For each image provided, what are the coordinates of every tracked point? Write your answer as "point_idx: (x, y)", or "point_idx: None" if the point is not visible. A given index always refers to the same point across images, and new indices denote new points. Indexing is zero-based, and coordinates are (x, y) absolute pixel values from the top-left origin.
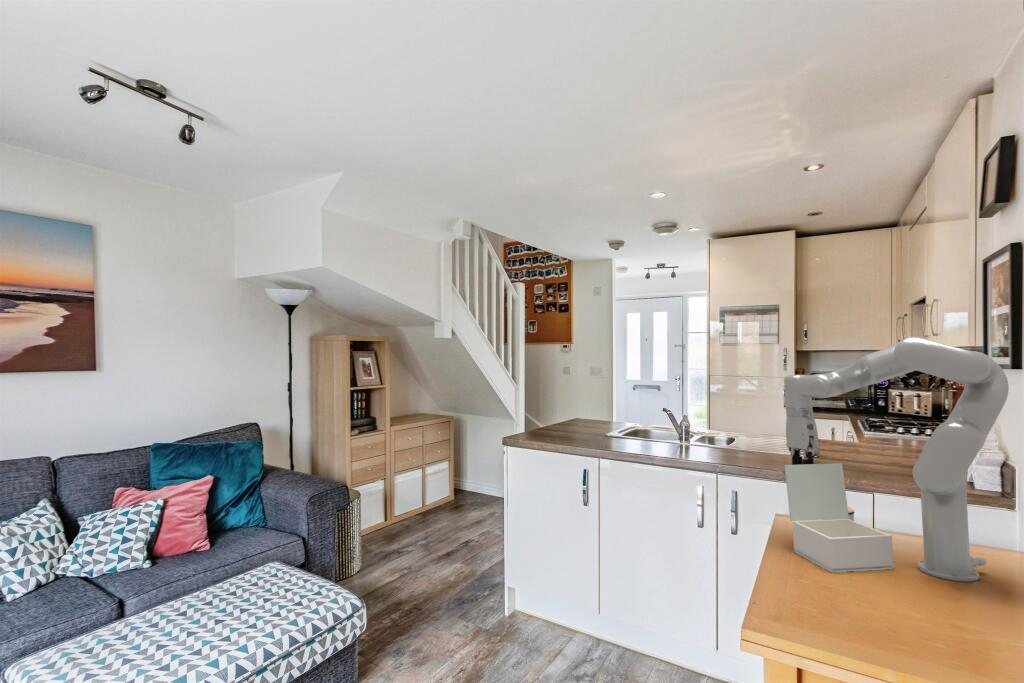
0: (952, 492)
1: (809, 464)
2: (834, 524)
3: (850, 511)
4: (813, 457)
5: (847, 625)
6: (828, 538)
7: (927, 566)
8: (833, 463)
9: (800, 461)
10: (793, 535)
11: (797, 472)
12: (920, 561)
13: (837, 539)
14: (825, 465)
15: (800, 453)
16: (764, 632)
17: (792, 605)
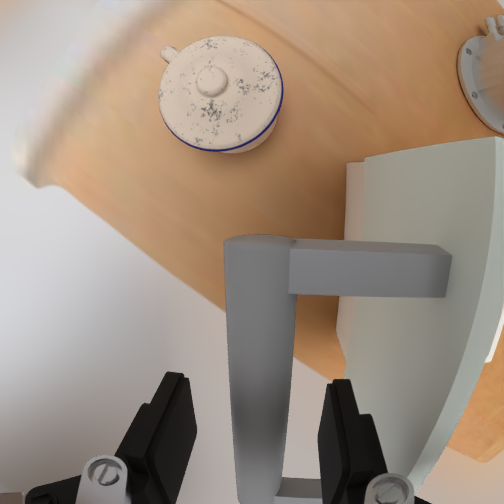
0: None
1: (414, 485)
2: None
3: (277, 71)
4: (419, 501)
5: None
6: (485, 361)
7: (498, 116)
8: (489, 244)
9: (172, 438)
10: (344, 354)
11: None
12: (471, 94)
13: (495, 343)
14: (473, 363)
15: (127, 492)
16: (494, 455)
17: (485, 424)
